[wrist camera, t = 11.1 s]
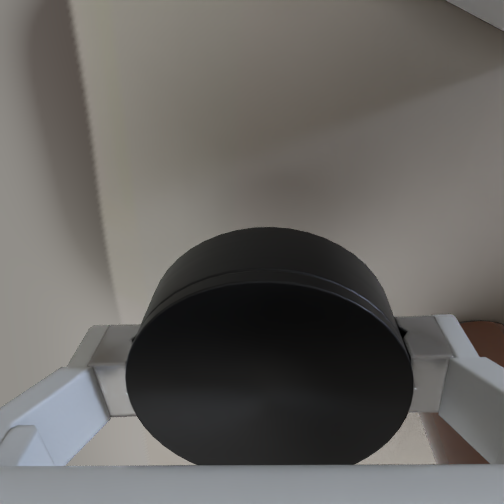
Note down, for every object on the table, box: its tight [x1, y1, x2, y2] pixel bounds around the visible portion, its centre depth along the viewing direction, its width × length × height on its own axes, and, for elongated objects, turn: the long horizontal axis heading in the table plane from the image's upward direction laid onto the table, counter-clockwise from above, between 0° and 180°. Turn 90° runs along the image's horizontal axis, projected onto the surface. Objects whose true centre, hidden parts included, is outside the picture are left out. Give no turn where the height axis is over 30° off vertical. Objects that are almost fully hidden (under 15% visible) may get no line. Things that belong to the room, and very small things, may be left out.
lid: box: [125, 227, 414, 465], centre depth 11 cm, size 7×7×2 cm
